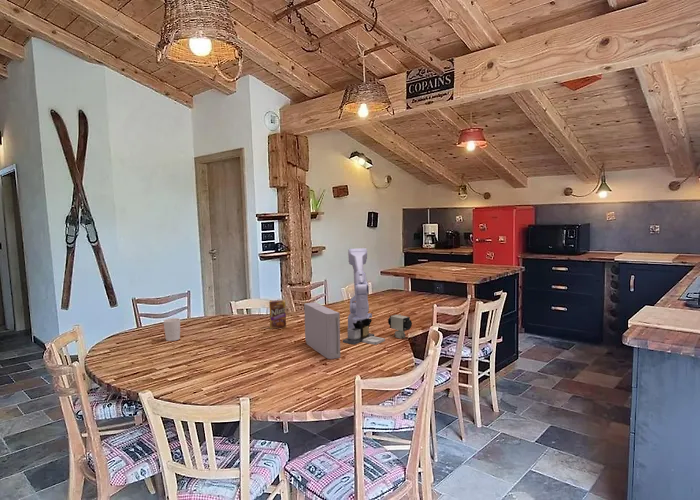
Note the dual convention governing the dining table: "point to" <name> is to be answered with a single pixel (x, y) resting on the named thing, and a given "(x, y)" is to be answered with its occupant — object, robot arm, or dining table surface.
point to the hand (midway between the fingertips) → (362, 334)
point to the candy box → (277, 314)
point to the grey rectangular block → (354, 334)
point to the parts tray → (373, 340)
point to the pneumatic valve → (399, 324)
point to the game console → (322, 330)
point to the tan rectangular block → (365, 331)
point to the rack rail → (356, 341)
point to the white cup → (172, 329)
